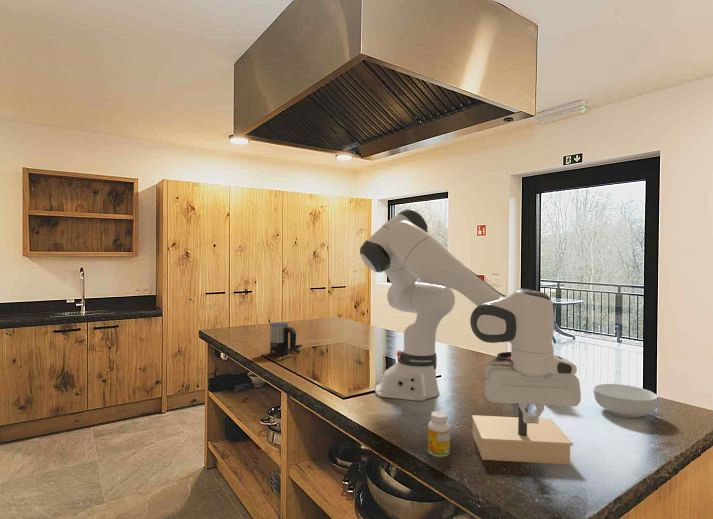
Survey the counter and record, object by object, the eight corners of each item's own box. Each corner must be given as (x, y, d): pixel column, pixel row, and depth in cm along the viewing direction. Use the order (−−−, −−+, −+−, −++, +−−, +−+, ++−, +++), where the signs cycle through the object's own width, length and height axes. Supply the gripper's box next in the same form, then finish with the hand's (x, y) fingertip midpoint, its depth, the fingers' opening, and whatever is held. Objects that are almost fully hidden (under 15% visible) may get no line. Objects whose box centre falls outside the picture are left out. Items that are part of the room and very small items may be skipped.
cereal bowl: (647, 407, 140) (648, 386, 140) (665, 427, 124) (666, 403, 124) (589, 401, 145) (589, 380, 145) (599, 419, 130) (599, 396, 130)
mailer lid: (481, 440, 102) (482, 400, 102) (471, 417, 117) (472, 382, 117) (572, 445, 100) (573, 404, 100) (551, 421, 115) (551, 385, 115)
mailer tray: (482, 461, 103) (482, 440, 103) (472, 436, 117) (472, 417, 117) (569, 466, 101) (570, 444, 101) (549, 440, 115) (549, 421, 115)
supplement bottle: (425, 448, 110) (425, 410, 109) (446, 447, 110) (446, 409, 110) (430, 458, 104) (431, 418, 104) (452, 457, 105) (453, 418, 104)
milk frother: (266, 355, 205) (266, 324, 204) (278, 348, 220) (278, 319, 220) (295, 357, 202) (295, 325, 202) (305, 349, 218) (305, 320, 217)
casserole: (506, 366, 189) (506, 347, 189) (550, 374, 177) (551, 354, 177) (481, 378, 171) (481, 357, 170) (529, 389, 158) (529, 366, 158)
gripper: (487, 363, 96) (486, 425, 96) (584, 367, 93) (583, 430, 94) (482, 356, 102) (481, 414, 102) (573, 359, 100) (571, 419, 100)
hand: (530, 422), depth 98 cm, fingers closed
